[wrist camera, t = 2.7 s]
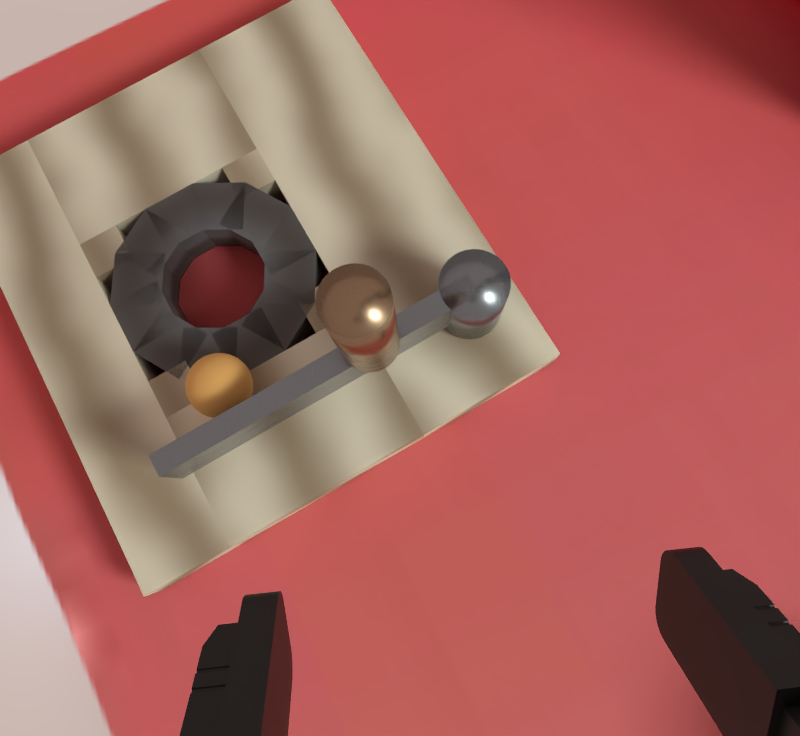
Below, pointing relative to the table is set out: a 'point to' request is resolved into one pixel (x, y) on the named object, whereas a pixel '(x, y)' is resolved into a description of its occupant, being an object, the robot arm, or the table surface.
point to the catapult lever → (352, 348)
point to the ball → (218, 383)
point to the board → (283, 278)
